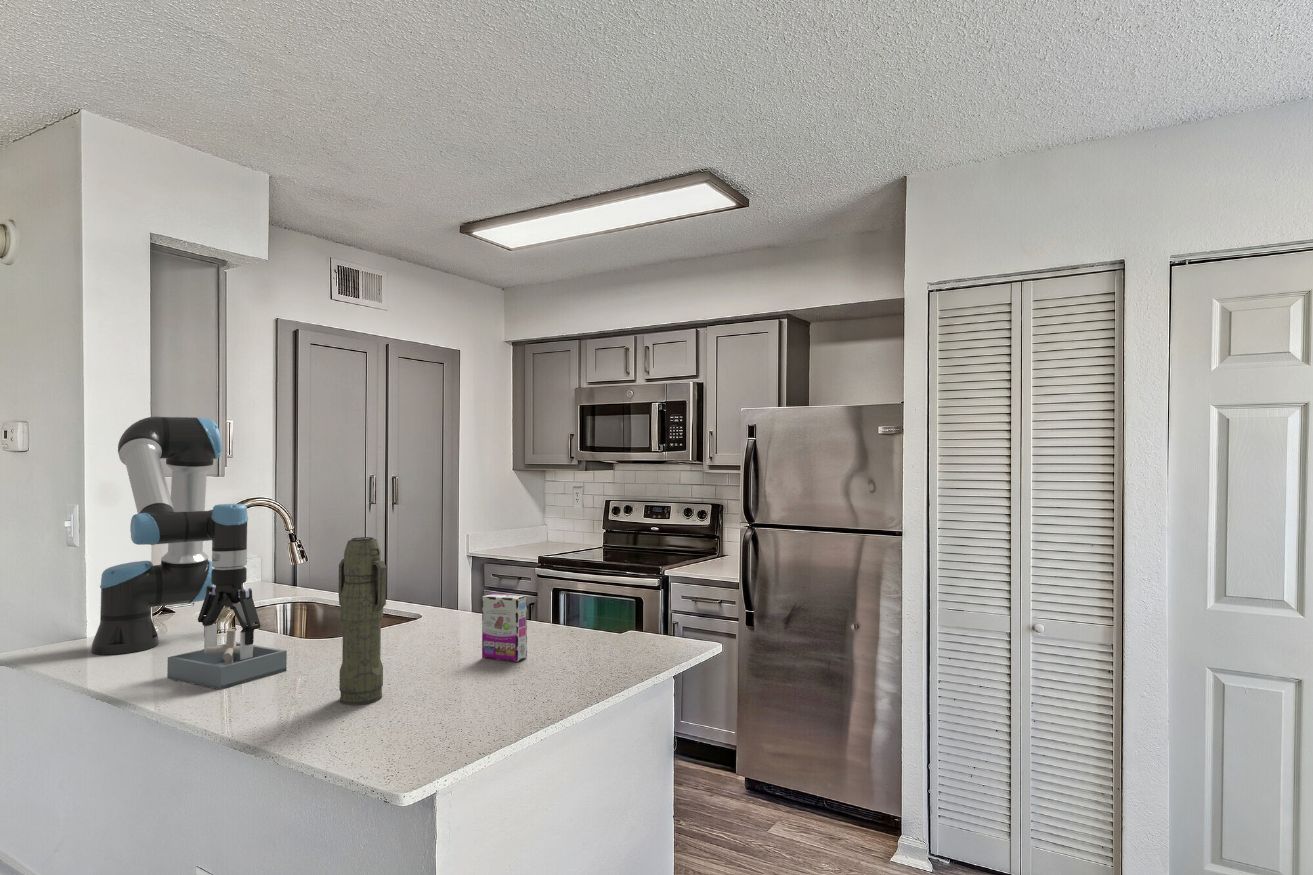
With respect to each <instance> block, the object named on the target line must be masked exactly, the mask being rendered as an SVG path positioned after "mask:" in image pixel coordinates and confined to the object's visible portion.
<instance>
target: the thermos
mask: <svg viewBox="0 0 1313 875" xmlns="http://www.w3.org/2000/svg"><path fill="white" fill-rule="evenodd" d="M381 553H382V552H381V548H380V545H379V541H378V539H376V538H375V537H368V536H367V537H365V536H363V537H353V538H352V537H351V539H350V540H347V543H346V546H345V548H344V552H343V558H342V559H341V561H339V564H338V602H339V603H338V604H339V606H340V621H341V624H342V653H341V654H342V658H341V659H342V660H341V661H342V662H341V665H340V667H339V681H338V682H339V685H338V686H339V691H340V697H339V701H340V703H341V704H342V705H347V706H362V705H367V704H368V705H369V704H372V703H376V702H377V701H380V700H382V698H383V691H382V690H383V685H384V665H383V663H382V660H381V658H382V656H381V653H382V652H381V648H382V646H381V642H382V640H381V638H382V637H381V636H382V633H381V632H382V630H381V629H382V619H383V618H384V608H385V606H386V605H387V599H386V598H387V596H386V595H387V574H388V573H387V571H388V570H387V568H388V567H387V565H386V563H385V561H384V560H381V558H382V554H381Z"/></svg>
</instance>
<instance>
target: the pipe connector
mask: <svg viewBox="0 0 1313 875" xmlns="http://www.w3.org/2000/svg"><path fill="white" fill-rule="evenodd" d="M236 632H237V631H236V629H235V628H228V629H227V630H226V640H225V644H226V646H219V645H218V646H219V647H206V654H224V655H223V659H224V660H225V662H224V665H228V664H232V663H233V656H234V654H240V646H236V642H237V641H236Z"/></svg>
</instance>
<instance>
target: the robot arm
mask: <svg viewBox="0 0 1313 875" xmlns="http://www.w3.org/2000/svg"><path fill="white" fill-rule="evenodd" d="M222 446H223V445H222V437H221V434H220V429H219V427H218V425H217V423H216V421H215V420H213V419H210V418H204V417H192V416H191V417H188V416H187V417H186V416H185V417H184V416H183V417H180V416H149V417H144V418H141V419H139V420H137V421H135V422H134V423H132V424H131V425H130V426H128V427H127V429H125V431H124V432H123V433H122V435H121V436H120V438H119V440H118V444H117V454H118V458H119V460H120V462H121V463H122V464H123V465H125V467H126V472H127V474H128V480H129V484H130V487H131V490H132V491H131V492H132V495H133V499H134V503H135V508H136V512H137V513H136V514H133V515H132V517H131V519H130V526H129V527H130V530H129V531H130V539H131V541H132V543H133V544H135V545H139V546H140V545H141V546H143V545H147V546H149V545H150V546H155V545H164V544H167V552H166V553H165V554H164V555H163V556H161V558H160V564H157V565H156V564H155V565H154V563H152V561H151V560H140V561H139V560H137V561H131V562H127V563H126V562H125V563H121V564H116V565H113V566H110V567H107V568H105V570H103V571H102V573H101V578H100V580H101V581H100V585H99V588H100V611H99V612H100V619H99V625H98V627H97V630H96V632H95V635H94V637H93V641H92V644H91V653H92V652H93V653H92V654H96V655H121V654H129V653H136V652H141V651H145V650H149V649H153V648H155V647H157V646H158V645H159V635H158V632H157V630H156V628H155V624H154V621H153V619H152V608H155V607H162V606H163V607H165V606H172V605H174V606H175V605H180V604H181V605H182V604H183V605H184V604H191V603H196V602H198V603H199V602H202V601H203V602H202V606H201V608H200V612H199V615H198V618H197V622H198V623H202V626H203V638H204V639H203V640H204V641H203V642H204V643H203V644H204V648H203V649H204V653H206V647H217V646H218V624H217V623H218V622H217V620H218V618H219V617H220V615H221V613H222V611H223V609H224V608H225V607H228V608H229V609H230V610H232V611H233V612H234V615H235V617H236V619H237V621H238V623H239V625H240V627H241V631H240V634H239V636H240V637H239V640H240V642H239V643H240V659H241V660H243V659H247V658H251V657H253V645H254V640H255V639H254V634H255V632H254V631H255V630H258V629H260V628H261V626H262V625H261V622H260V619H259V615H258V611H257V608H256V606H255V603H254V599H253V590H252V588H251V587H250V588H246V589H245V588H243V584H245V583H246V582H247V579H248V578H247V577H248V576H247V572H248V570H247V568H246V565H247V564H248V521H249V515H248V506H247V505H246V504H244V503H222V504H221V503H220V504H215V505H214V506H213V507H212V509H209V510H206V509H205V508H206V493H207V478H208V476H207V475H208V474H207V473H208V470H209V469H211V468H212V467H213V466H214V461H215V460H217V459H219V458H221V456H222V453H221V452H222V451H223V449H222ZM161 459H165V465H166V466H167V467H168V468H169V469H170V471H171V482H170V483H171V484H170V485H171V486H170V491H169V487H168V484H167V480H166V477H165V473H164V469H163V467H162V466H163V465H162V463H161ZM208 541H209V542H210V541H211V560H209V556H208V555H207V554H206V553H205V552H204V551H203V548H204V542H208Z"/></svg>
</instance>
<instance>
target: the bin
mask: <svg viewBox="0 0 1313 875" xmlns="http://www.w3.org/2000/svg"><path fill="white" fill-rule="evenodd" d="M235 642H236V646H240V642H237V641H235ZM219 646H226V643H224V644H220V645H217V647H219ZM287 653H288V651H287V650H285V649H280V648H274V647H273V648H272V647H268V646H267V647H266V646H262V645H261V646H260V645H254V644H253V657H251V658H247V659H243V660H241V659H240V654H234V656H233V663H232V664H228V665H224V662H225V660H224V659H223V655H224V654H206V653H204V648H203V649H198V650H194V651H189V652H185V653H180V654H176V655H172V656H167V669H166V670H167V671H166V672H167V673H166V674H167V676H166V678H167V679H170V680H173V681H179V682H182V681H183V683H187V684H192V683H193V685H196V686H201V685H203V687H206V688H211V687H212V688H211V689H215V690H220V689H221V690H225V689H227V688H230V687H236V686H238V685H239V686H240V685H242V684H246V683H249V682H252V681H257V680H260V679H262V678H266V677H270V676H273V675H277V674H280V673H284V672H287V664H288V663H287V659H288V658H287V656H288V655H287Z"/></svg>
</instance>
